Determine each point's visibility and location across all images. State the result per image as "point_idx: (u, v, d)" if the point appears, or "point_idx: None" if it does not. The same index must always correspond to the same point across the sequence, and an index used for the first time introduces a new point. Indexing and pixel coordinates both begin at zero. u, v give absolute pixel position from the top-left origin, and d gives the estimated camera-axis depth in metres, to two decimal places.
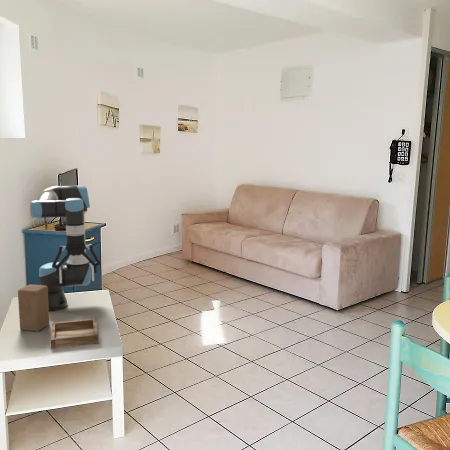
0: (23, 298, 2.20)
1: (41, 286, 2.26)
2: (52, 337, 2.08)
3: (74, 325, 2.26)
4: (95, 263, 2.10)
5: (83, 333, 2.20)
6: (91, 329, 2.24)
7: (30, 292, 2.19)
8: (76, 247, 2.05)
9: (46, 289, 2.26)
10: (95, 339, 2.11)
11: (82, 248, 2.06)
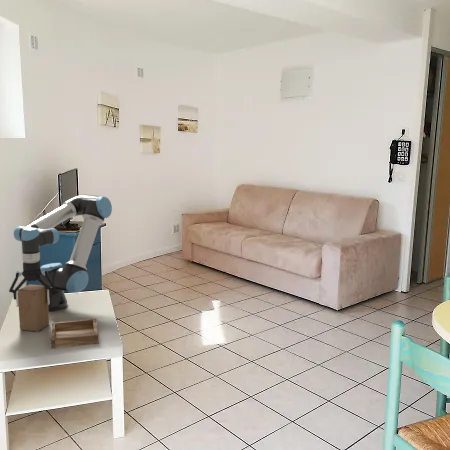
0: (23, 298, 2.20)
1: (41, 286, 2.26)
2: (52, 337, 2.08)
3: (74, 325, 2.26)
4: (50, 288, 2.26)
5: (83, 333, 2.20)
6: (91, 329, 2.24)
7: (30, 292, 2.19)
8: (32, 273, 2.22)
9: (46, 289, 2.26)
10: (95, 339, 2.11)
11: (38, 274, 2.22)
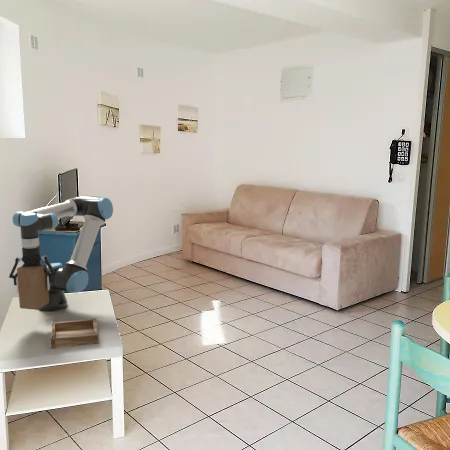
0: (22, 276, 2.18)
1: None
2: (52, 337, 2.08)
3: (74, 325, 2.26)
4: (50, 273, 2.25)
5: (83, 333, 2.20)
6: (91, 329, 2.24)
7: (29, 270, 2.17)
8: (31, 258, 2.21)
9: (45, 267, 2.25)
10: (95, 339, 2.11)
11: (37, 259, 2.21)
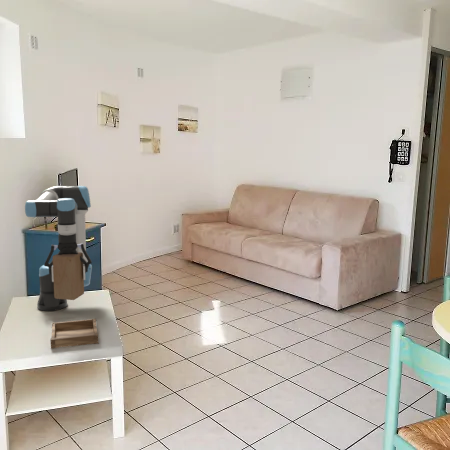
0: (58, 264, 2.08)
1: None
2: (52, 337, 2.08)
3: (74, 325, 2.26)
4: (86, 262, 2.14)
5: (83, 333, 2.20)
6: (91, 329, 2.24)
7: (66, 258, 2.07)
8: (68, 246, 2.10)
9: (81, 256, 2.14)
10: (95, 339, 2.11)
11: (74, 247, 2.11)
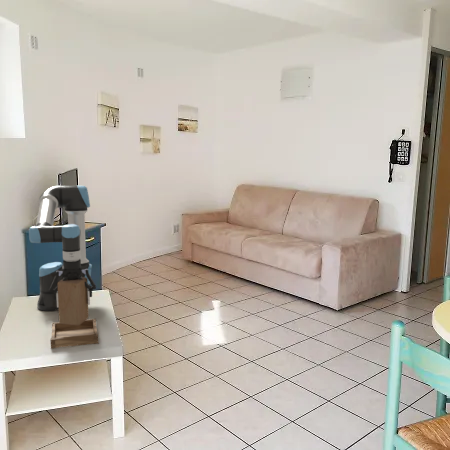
0: (63, 290, 2.09)
1: None
2: (52, 337, 2.08)
3: (74, 325, 2.26)
4: (91, 287, 2.16)
5: (83, 333, 2.20)
6: (91, 329, 2.24)
7: (71, 284, 2.08)
8: (72, 272, 2.12)
9: (86, 281, 2.16)
10: (95, 339, 2.11)
11: (78, 273, 2.12)
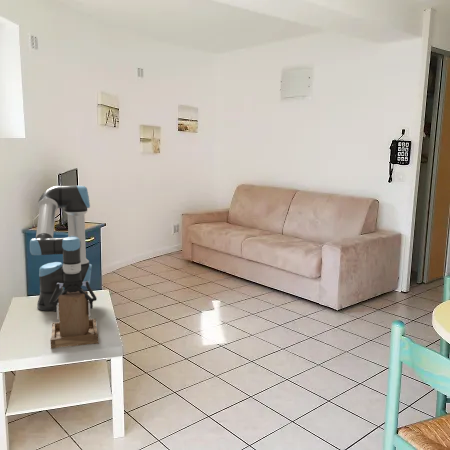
0: (64, 304, 2.11)
1: None
2: (52, 337, 2.08)
3: None
4: (91, 299, 2.17)
5: None
6: (91, 329, 2.24)
7: (72, 298, 2.10)
8: (73, 284, 2.13)
9: None
10: (95, 339, 2.11)
11: (79, 285, 2.13)
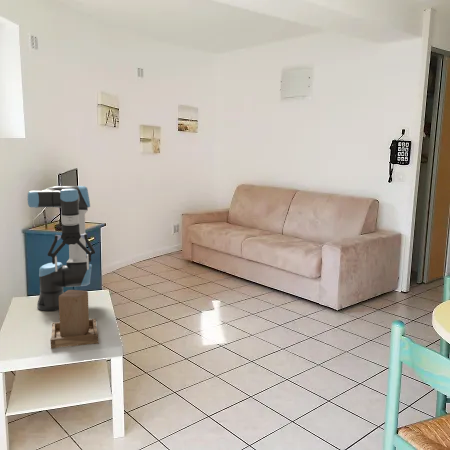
0: (64, 304, 2.11)
1: (82, 291, 2.16)
2: (52, 337, 2.08)
3: None
4: (90, 252, 2.16)
5: None
6: (91, 329, 2.24)
7: (72, 298, 2.10)
8: (71, 236, 2.11)
9: (87, 294, 2.17)
10: (95, 339, 2.11)
11: (77, 237, 2.12)
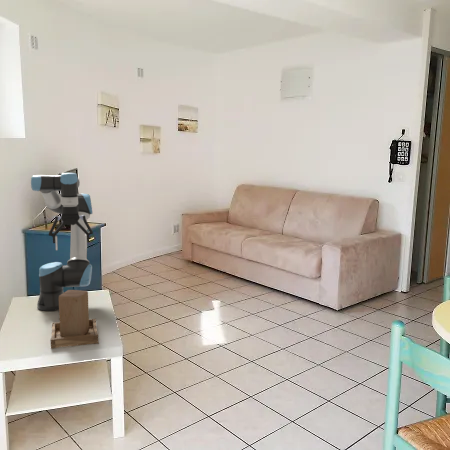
0: (64, 304, 2.11)
1: (82, 291, 2.16)
2: (52, 337, 2.08)
3: None
4: (88, 232, 2.30)
5: None
6: (91, 329, 2.24)
7: (72, 298, 2.10)
8: (70, 217, 2.26)
9: (87, 294, 2.17)
10: (95, 339, 2.11)
11: (76, 218, 2.27)
